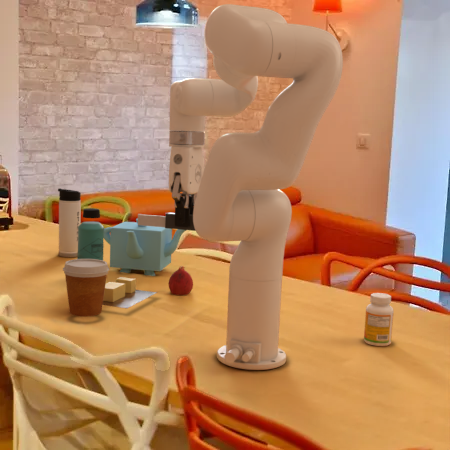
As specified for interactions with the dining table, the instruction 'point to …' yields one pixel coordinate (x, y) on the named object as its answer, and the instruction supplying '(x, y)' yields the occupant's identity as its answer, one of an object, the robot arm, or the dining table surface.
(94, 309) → the disposable coffee cup
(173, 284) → the onion
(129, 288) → the butter slice
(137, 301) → the board
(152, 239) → the teakettle
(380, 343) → the supplement bottle
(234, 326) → the robot arm
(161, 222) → the knife
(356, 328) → the dining table surface
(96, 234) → the beverage bottle
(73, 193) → the travel mug
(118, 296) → the butter
